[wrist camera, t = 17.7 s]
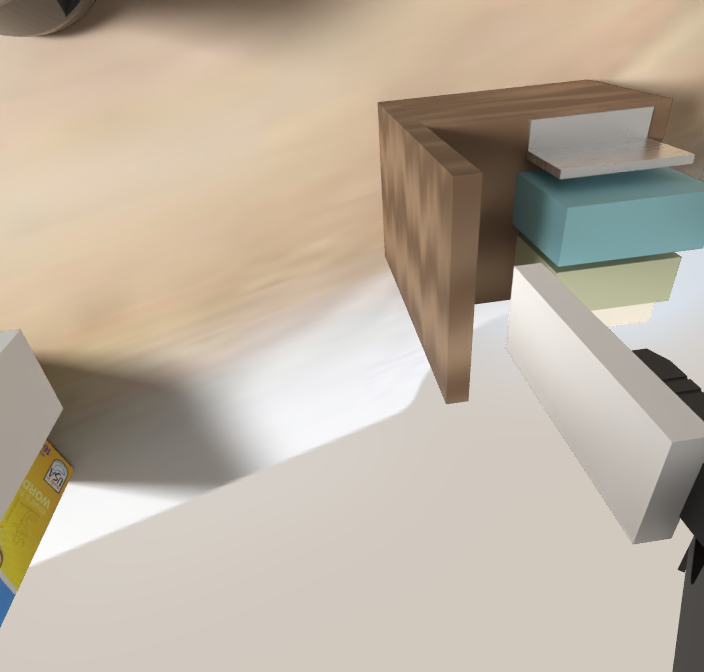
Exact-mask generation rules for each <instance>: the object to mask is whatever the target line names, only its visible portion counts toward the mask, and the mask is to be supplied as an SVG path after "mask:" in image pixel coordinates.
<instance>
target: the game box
mask: <svg viewBox="0 0 704 672" xmlns="http://www.w3.org/2000/svg"><path fill="white" fill-rule="evenodd" d="M73 471H74V469H73V468H72V467H71V466H70V465H69V464H68V463H67V461H66V460H65V459H64V458H63V457H62V456H61V455H60V454H59V453H58V452H57V451H56V450H55V449H54V447H53V446H52V445H51V444H50V443H49V442H48V441H47V440H46V441H45V443H44V444H43V446H42V448H41V450H40V452H39V453H38V455H37V457H36V459H35V461H34V462H33V464H32V466H31V468H30V470H29V471H28V473H27V475H26V477H25V479H24V481H23V482H22V484H21V486H20V488H19V490H18V491H17V493H16V495H15V497H14V499H13V500H12V502H11V504H10V506H9V508H8V509H7V511H6V513H5V515H4V517H3V518H2V520H1V522H0V627H1V625H2V623H3V620H4V618H5V616H6V614H7V612H8V610H9V607H10V605H11V603H12V601H13V599H14V597H15V595H16V592H17V591H18V589H19V587H20V584H21V582H22V580H23V578H24V576H25V573H26V571H27V569H28V567H29V565H30V563H31V560H32V558H33V556H34V554H35V552H36V550H37V548H38V546H39V544H40V541H41V539H42V537H43V535H44V533H45V531H46V529H47V527H48V524H49V522H50V520H51V518H52V516H53V514H54V512H55V509H56V507H57V505H58V503H59V501H60V499H61V497H62V494H63V492H64V490H65V488H66V486H67V484H68V482H69V479H70V477H71V475H72V473H73Z"/></svg>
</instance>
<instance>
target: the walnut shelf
mask: <svg viewBox="0 0 704 672" xmlns="http://www.w3.org/2000/svg"><path fill="white" fill-rule="evenodd" d="M672 100H673V99H671V98H666V97H662V96H657V95H653V94H649V93H644V92H640V91H635V90H631V89H627V88H622V87H618V86H613V85H609V84H605V83H600V82H596V81H591V80H580V81H571V82H562V83H552V84H543V85H534V86H525V87H515V88H506V89H497V90H488V91H478V92H469V93H460V94H451V95H441V96H432V97H423V98H414V99H404V100H395V101H386V102H378V118H379V138H380V159H381V180H382V200H383V221H384V242H385V257H386V259H387V262H388V264H389V266H390V269H391V271H392V274H393V276H394V279H395V281H396V283H397V286H398V288H399V291H400V293H401V296H402V298H403V300H404V303H405V305H406V308H407V310H408V313H409V315H410V317H411V320H412V322H413V325H414V327H415V330H416V332H417V334H418V337H419V339H420V342H421V344H422V347H423V349H424V351H425V354H426V356H427V359H428V361H429V364H430V366H431V368H432V371H433V373H434V376H435V378H436V381H437V383H438V385H439V388H440V390H441V393H442V395H443V397H444V400H445V403H446V404H451V403H458V402H465V401H468V397H469V382H470V367H471V351H472V335H473V320H474V304H481V303H488V302H496V301H504V300H511V291H512V282H513V269H514V260H515V251H516V242H517V235H520V234H523V233H521V232H520V231H519V230H518V229H517V228H516V227H515V226H514V225H513V224H512V220H513V210H514V200H515V190H516V180H517V173H520V172H529V171H537V170H544V169H542V168H540V167H539V166H537V165H535V164H534V163H532V162H531V161H529V160H527V159H526V149H527V140H528V131H529V122H530V119H537V118H546V117H555V116H564V115H573V114H582V113H591V112H600V111H609V110H618V109H627V108H636V107H645V106H654V110H653V114H652V118H651V122H650V127H649V131H648V135H647V138H650V139H653V140H656V141H659V142H662V140H663V136H664V132H665V128H666V124H667V120H668V116H669V112H670V108H671V104H672Z"/></svg>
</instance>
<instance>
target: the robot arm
mask: <svg viewBox="0 0 704 672" xmlns="http://www.w3.org/2000/svg"><path fill="white" fill-rule="evenodd" d="M94 2H95V0H0V35H5V36H14V37H27V36H39V35H46V34H51V33H55V32H57V31H60V30H63V29H65V28H67V27H69V26H70V25H72V24H74V23H75V22H76V21H78V20H79V19H80V18H81V17H82V16H84V15H85V13H86V12H87V11H88V10H89V9H90V8H91V6H92V5H93V3H94ZM505 349H506V351H507V352H508V354H509V355H510V357H511V358H512V360H513V361H514V363H515V364H516V366H517V367H518V369H519V371H520V372H521V374H522V375H523V377H524V378H525V380H526V381H527V383H528V384H529V386H530V387H531V389H532V390H533V392H534V393H535V395H536V397H537V398H538V400H539V401H540V403H541V404H542V406H543V407H544V409H545V410H546V412H547V413H548V415H549V417H550V418H551V419H552V421H553V423H554V424H555V426H556V427H557V429H558V430H559V432H560V433H561V435H562V436H563V438H564V439H565V441H566V442H567V444H568V446H569V447H570V449H571V450H572V452H573V453H574V455H575V456H576V458H577V459H578V461H579V462H580V464H581V465H582V467H583V468H584V470H585V471H586V473H587V475H588V476H589V478H590V479H591V481H592V482H593V484H594V485H595V487H596V488H597V490H598V491H599V493H600V494H601V496H602V497H603V499H604V501H605V502H606V504H607V505H608V507H609V508H610V510H611V511H612V513H613V514H614V516H615V518H616V519H617V521H618V522H619V524H620V525H621V526H622V528H623V530H624V531H625V533H626V534H627V536H628V537H629V539H630V540H631V542H632V544H638V543H645V542H651V541H658V540H664V539H670V538H672V536H673V533H674V531H675V529H676V527H677V525H678V522H679V520H680V518H681V519H682V521H683V522H684V523H685V524H686V526H687V527H688V528H689V530H690V531H691V532H692V533H693V535H694V537H693V539H692V541H691V543H690V545H689V547H688V549H687V551H686V553H685V555H684V558H683V559H682V562H681V564H680V566H679V568H678V570H679V571H682V572H685V570H686V573H685V581H684V588H683V596H682V603H681V611H680V619H679V626H678V634H677V642H676V650H675V658H674V664H673V672H704V392H702V391H701V388H700V387H699V386H698V385H696V384H695V383H694V382H693V381H692V380H691V379H687V376H686V375H685V374H684V373H683V372H682V371H681V370H680V369H679V368H678V367H677V366H675V365H674V364H673V363H672V362H671V361H670V360H668V359H666V358H664V357H662V356H660V355H658V354H656V353H654V352H652V351H650V350H649V349H640V350H633V351H631V350H630V349H629V348H628V347H627V346H626V345H625V344H624V343H623V342H622V341H621V340H620V339H619V338H618V337H617V336H616V335H615V334H614V333H613V332H612V331H611V330H610V329H609V328H608V327H607V326H606V325H605V324H604V323H603V322H602V321H601V320H599V319H598V318H597V317H596V316H595V315H594V314H593V313H592V312H591V311H590V310H589V309H588V308H587V307H586V306H585V305H584V304H583V303H582V302H581V301H580V300H579V299H578V298H577V297H576V296H575V295H574V294H573V293H572V292H571V291H570V290H569V289H568V288H567V287H566V286H565V285H564V284H563V283H562V282H561V281H560V280H559V279H558V278H557V277H556V276H555V275H554V274H553V273H552V272H551V271H549V270H548V269H547V268H546V267H545V266H544V265H543V264H542V263H536V264H528V265H520V266H514V273H513V282H512V291H511V301H510V310H509V320H508V329H507V337H506V347H505ZM62 410H63V407H62V405H61V403H60V402H59V400H58V398H57V396H56V394H55V392H54V390H53V388H52V387H51V385H50V383H49V381H48V379H47V377H46V375H45V374H44V372H43V370H42V368H41V366H40V364H39V362H38V361H37V359H36V357H35V355H34V353H33V351H32V349H31V348H30V346H29V344H28V342H27V340H26V338H25V336H24V335H23V333H22V331H21V329H16V330H8V331H1V332H0V522H1V520H2V518H3V517H4V515H5V513H6V511H7V509H8V508H9V506H10V504H11V502H12V500H13V499H14V497H15V495H16V493H17V491H18V490H19V488H20V486H21V484H22V482H23V481H24V479H25V477H26V475H27V473H28V471H29V470H30V468H31V466H32V464H33V462H34V461H35V459H36V457H37V455H38V453H39V452H40V450H41V448H42V446H43V444H44V443H45V441H46V439H47V437H48V435H49V434H50V432H51V430H52V428H53V426H54V425H55V423H56V421H57V419H58V417H59V416H60V414H61V412H62Z"/></svg>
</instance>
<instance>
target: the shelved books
mask: <svg viewBox="0 0 704 672" xmlns="http://www.w3.org/2000/svg"><path fill="white" fill-rule="evenodd" d="M681 258H682V257H681V256H679V255H678V254H676V253H675V252H670V253H662V254H655V255H647V256H639V257H631V258H623V259H616V260H608V261H600V262H592V263H584V264H576V265H569V266H561V267H558V266H557V265H556V264H555V263H554V262H552V261H551V260H550V259H549V258H548V257H547V256H546V255H545V254H544V253H543V252H542V251H541V250H540V249H539V248H538V247H536V246H535V245H534V244H533V243H532V242H531V241H530V240H529V239H528V238H527V237H526V236H525V235H524V234H520V235H517V242H516V251H515V260H514V266H520V265H528V264H536V263H542V264H543V265H544V266H545V267H546V268H547V269H548V270H549V271H551V272H552V273H553V274H554V275H555V276H556V277H557V278H558V279H559V280H560V281H561V282H562V283H563V284H564V285H565V286H566V287H567V288H568V289H569V290H570V291H571V292H572V293H573V294H574V295H575V296H576V297H577V298H578V299H579V300H580V301H581V302H582V303H583V304H584V305H585V306H586V307H587V308H588V309H589V310H590V311H591V312H592V313H593V314H594V315H595V316H596V317H597V318H598V319H599V320H601V321H602V322H603V323H604V324H605V325H606V326H607V327H610V326H618V325H626V324H634V323H640V322H648V321H650V317H651V314H652V311H653V307H654V304H655V302H661V301H668V300H669V297H670V293H671V290H672V287H673V284H674V281H675V277H676V274H677V271H678V268H679V264H680V261H681ZM513 273H514V269H513Z"/></svg>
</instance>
